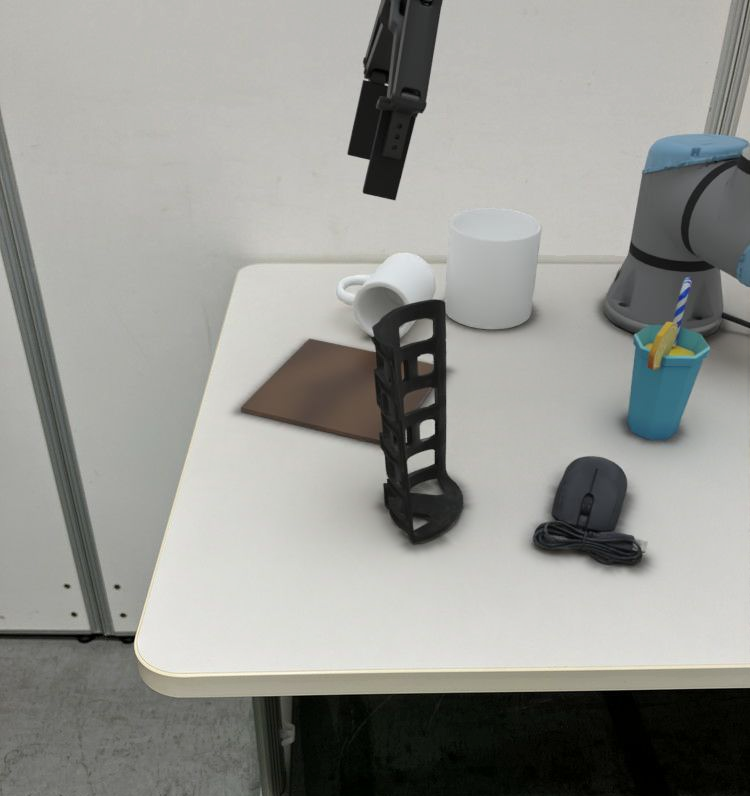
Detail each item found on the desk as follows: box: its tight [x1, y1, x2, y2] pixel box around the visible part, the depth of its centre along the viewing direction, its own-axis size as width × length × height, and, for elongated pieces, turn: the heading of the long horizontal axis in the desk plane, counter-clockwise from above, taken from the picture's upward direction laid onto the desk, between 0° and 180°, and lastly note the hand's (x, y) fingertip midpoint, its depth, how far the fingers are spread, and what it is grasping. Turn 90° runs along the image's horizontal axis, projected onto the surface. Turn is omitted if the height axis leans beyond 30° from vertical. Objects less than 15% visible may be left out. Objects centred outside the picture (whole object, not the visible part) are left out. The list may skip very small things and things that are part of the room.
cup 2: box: [626, 277, 711, 441], centre depth 98 cm, size 14×8×15 cm, turn 158°
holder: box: [370, 298, 464, 545], centre depth 83 cm, size 11×8×20 cm
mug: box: [335, 252, 437, 338], centre depth 119 cm, size 12×10×8 cm
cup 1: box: [443, 207, 543, 331], centre depth 121 cm, size 12×12×12 cm
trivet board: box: [240, 338, 434, 445], centre depth 107 cm, size 18×18×1 cm
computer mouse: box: [532, 455, 648, 566], centre depth 88 cm, size 10×15×4 cm
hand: (369, 175), depth 81 cm, fingers open, 13 cm apart
